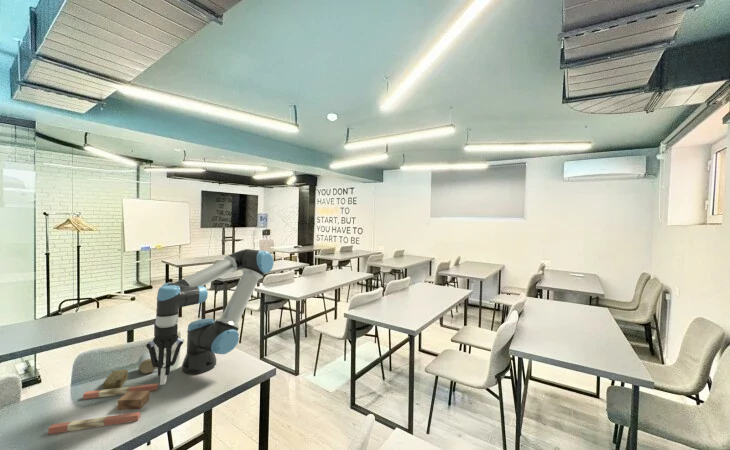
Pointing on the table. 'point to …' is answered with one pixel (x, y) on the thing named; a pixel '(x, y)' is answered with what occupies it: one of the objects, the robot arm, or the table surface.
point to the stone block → (115, 379)
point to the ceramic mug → (146, 363)
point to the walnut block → (133, 400)
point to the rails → (100, 421)
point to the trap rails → (109, 419)
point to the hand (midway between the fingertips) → (163, 382)
